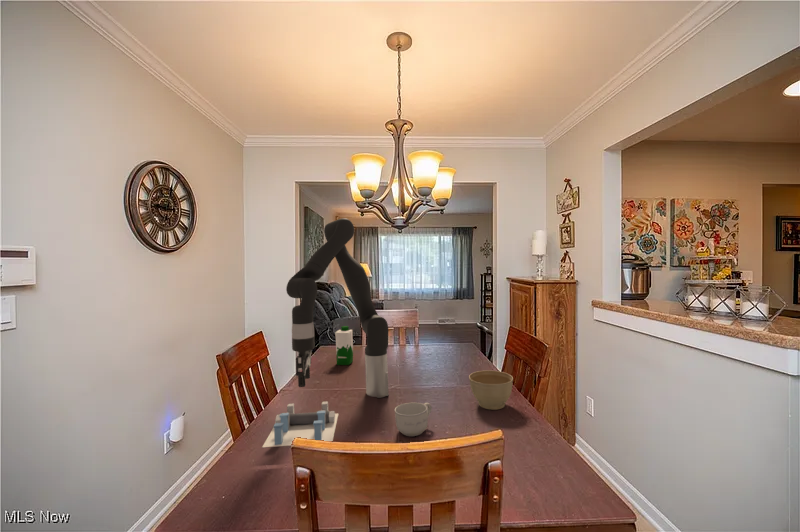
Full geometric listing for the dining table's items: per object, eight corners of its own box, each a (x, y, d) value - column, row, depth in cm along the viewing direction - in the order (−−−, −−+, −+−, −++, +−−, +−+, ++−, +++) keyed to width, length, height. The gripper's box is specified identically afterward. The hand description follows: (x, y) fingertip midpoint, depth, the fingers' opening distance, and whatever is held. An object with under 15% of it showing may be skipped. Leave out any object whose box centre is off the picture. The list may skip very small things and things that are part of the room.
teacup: (404, 443, 109) (404, 417, 109) (389, 429, 119) (388, 405, 119) (442, 432, 116) (442, 407, 116) (425, 419, 125) (424, 396, 125)
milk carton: (354, 361, 201) (353, 325, 201) (350, 365, 192) (348, 328, 192) (339, 360, 203) (338, 325, 202) (334, 365, 194) (333, 328, 194)
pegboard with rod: (338, 415, 131) (337, 398, 130) (332, 444, 110) (331, 424, 110) (279, 419, 129) (279, 401, 129) (262, 449, 108) (261, 428, 108)
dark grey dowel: (335, 416, 126) (334, 408, 125) (334, 424, 123) (333, 416, 121) (278, 420, 125) (277, 412, 123) (276, 428, 121) (274, 420, 120)
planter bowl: (484, 393, 147) (483, 367, 147) (521, 404, 136) (520, 375, 135) (461, 405, 136) (460, 377, 136) (499, 418, 124) (498, 387, 124)
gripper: (310, 339, 117) (311, 389, 117) (317, 331, 131) (318, 375, 131) (287, 340, 116) (288, 390, 116) (296, 332, 130) (297, 376, 130)
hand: (304, 382), depth 124 cm, fingers open, 8 cm apart
